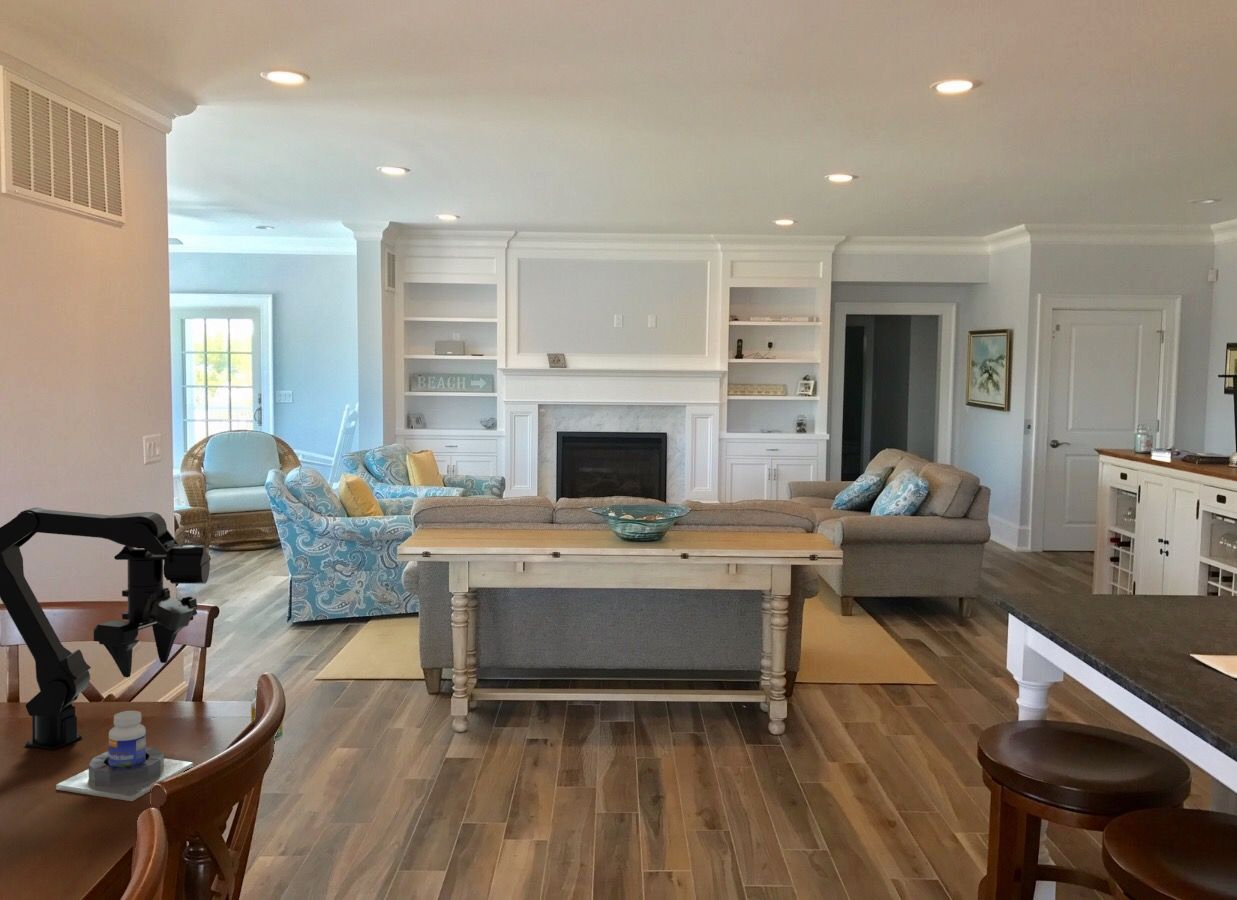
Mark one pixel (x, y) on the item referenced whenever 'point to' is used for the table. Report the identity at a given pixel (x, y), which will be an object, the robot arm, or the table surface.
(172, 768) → the collar
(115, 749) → the pill bottle
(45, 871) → the table surface
